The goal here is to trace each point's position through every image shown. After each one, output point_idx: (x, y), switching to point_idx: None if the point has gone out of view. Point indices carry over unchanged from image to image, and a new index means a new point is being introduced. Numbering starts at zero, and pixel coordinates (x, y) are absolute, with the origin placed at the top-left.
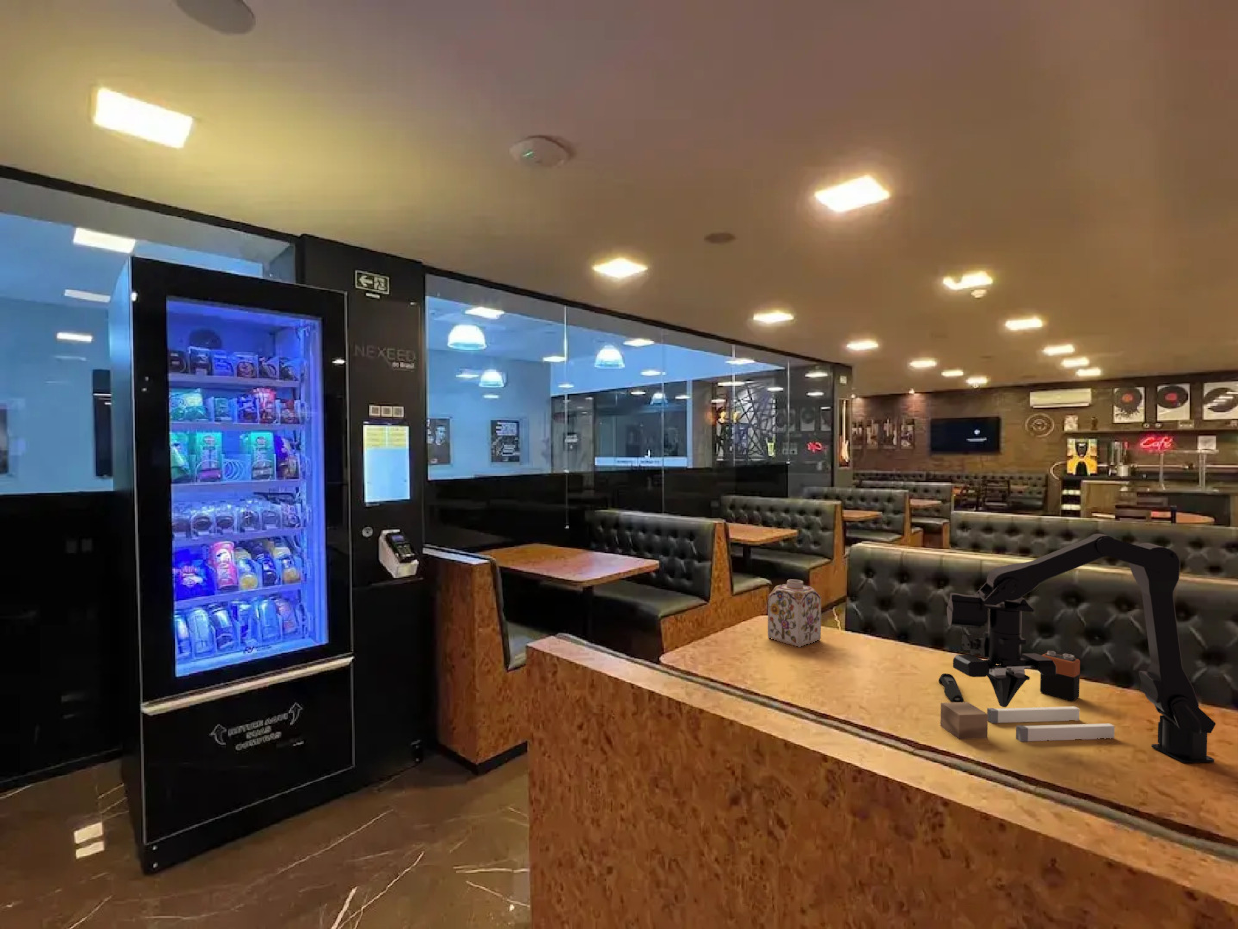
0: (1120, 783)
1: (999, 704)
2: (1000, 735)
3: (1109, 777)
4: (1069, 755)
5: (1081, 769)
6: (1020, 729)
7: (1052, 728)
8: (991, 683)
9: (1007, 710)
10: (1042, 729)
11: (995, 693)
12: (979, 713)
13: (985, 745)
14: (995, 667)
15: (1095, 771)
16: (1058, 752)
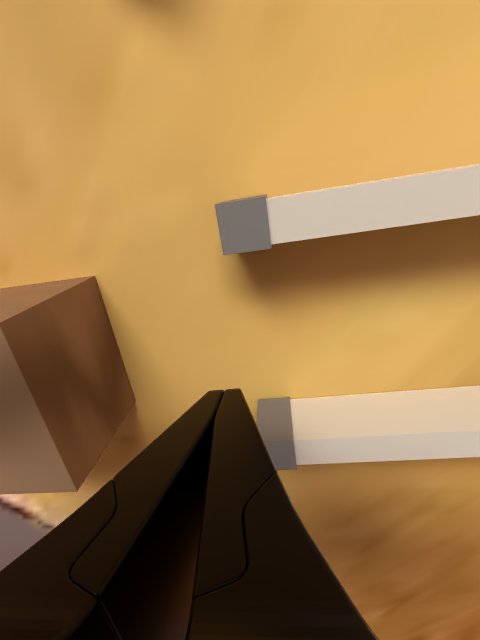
0: (388, 620)
1: (207, 395)
2: (206, 372)
3: (386, 601)
4: (378, 508)
5: (339, 570)
6: None
7: (442, 456)
8: (44, 540)
9: (353, 229)
10: (380, 456)
11: (150, 448)
12: (30, 486)
13: (106, 447)
14: None
15: (374, 579)
16: (354, 491)
